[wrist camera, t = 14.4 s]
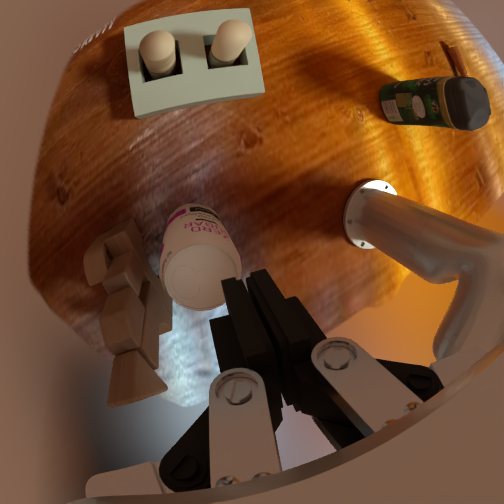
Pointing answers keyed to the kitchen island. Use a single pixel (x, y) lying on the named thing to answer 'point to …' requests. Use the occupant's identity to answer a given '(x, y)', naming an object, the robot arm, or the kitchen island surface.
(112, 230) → the wooden toy
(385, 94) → the coffee jar
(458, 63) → the purple maraca
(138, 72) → the seat board
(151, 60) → the peg
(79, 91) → the kitchen island surface
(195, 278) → the supplement can
